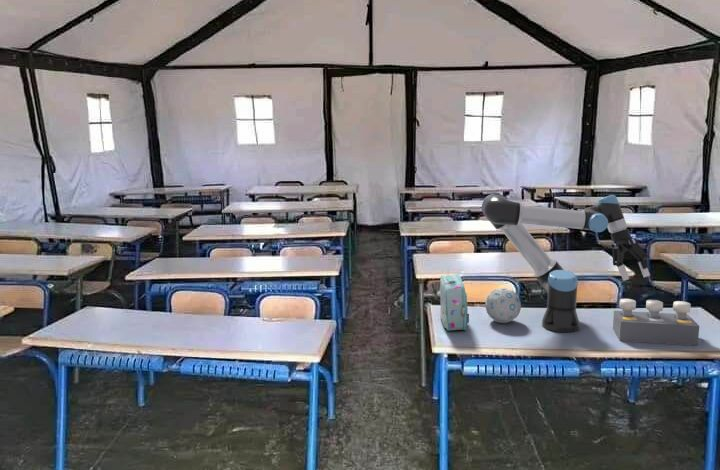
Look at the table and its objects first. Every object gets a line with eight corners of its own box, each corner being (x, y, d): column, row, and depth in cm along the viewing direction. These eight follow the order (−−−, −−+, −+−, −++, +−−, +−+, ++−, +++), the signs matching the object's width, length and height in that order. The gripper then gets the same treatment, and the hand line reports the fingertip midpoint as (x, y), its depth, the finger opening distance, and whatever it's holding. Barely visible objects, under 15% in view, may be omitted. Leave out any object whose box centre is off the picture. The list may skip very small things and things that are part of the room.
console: (619, 340, 227) (620, 321, 226) (612, 328, 241) (613, 310, 239) (697, 345, 221) (699, 325, 219) (686, 333, 234) (687, 313, 233)
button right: (674, 324, 227) (676, 305, 226) (670, 319, 233) (671, 300, 231) (691, 325, 226) (692, 306, 224) (686, 320, 231) (688, 301, 230)
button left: (620, 321, 232) (621, 302, 230) (617, 316, 237) (618, 298, 236) (636, 322, 230) (637, 303, 229) (632, 317, 236) (634, 299, 235)
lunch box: (470, 335, 237) (471, 285, 233) (445, 335, 237) (445, 285, 233) (460, 314, 263) (461, 269, 259) (438, 314, 263) (438, 269, 259)
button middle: (646, 323, 229) (648, 303, 228) (643, 318, 235) (644, 299, 234) (663, 323, 228) (664, 304, 227) (659, 319, 234) (660, 300, 232)
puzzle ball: (483, 325, 247) (484, 292, 245) (487, 314, 261) (487, 283, 259) (519, 329, 243) (520, 295, 240) (521, 317, 257) (522, 285, 254)
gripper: (645, 222, 233) (663, 272, 231) (608, 233, 258) (625, 278, 255) (629, 227, 232) (648, 277, 229) (594, 238, 256) (611, 283, 253)
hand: (636, 278), depth 242 cm, fingers open, 13 cm apart
